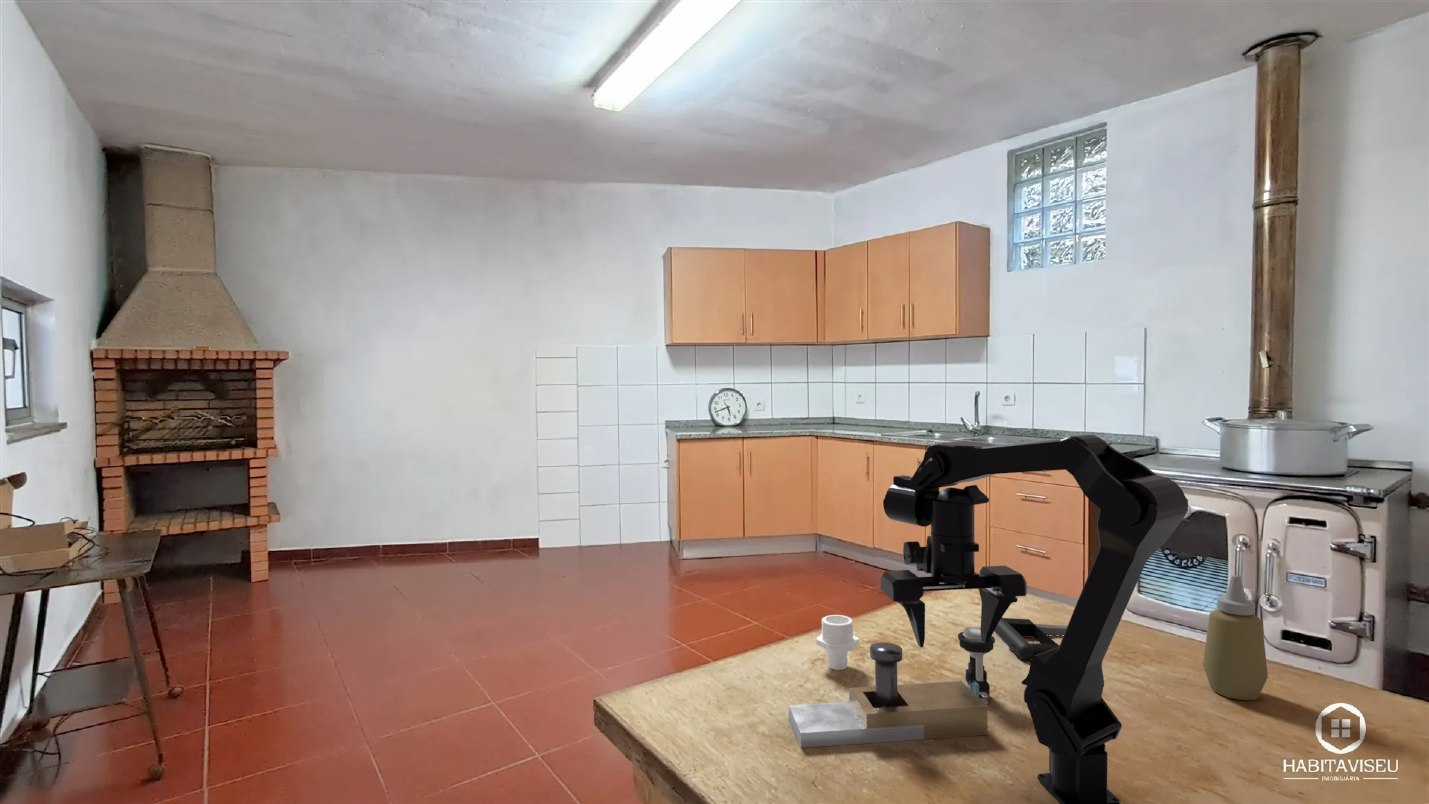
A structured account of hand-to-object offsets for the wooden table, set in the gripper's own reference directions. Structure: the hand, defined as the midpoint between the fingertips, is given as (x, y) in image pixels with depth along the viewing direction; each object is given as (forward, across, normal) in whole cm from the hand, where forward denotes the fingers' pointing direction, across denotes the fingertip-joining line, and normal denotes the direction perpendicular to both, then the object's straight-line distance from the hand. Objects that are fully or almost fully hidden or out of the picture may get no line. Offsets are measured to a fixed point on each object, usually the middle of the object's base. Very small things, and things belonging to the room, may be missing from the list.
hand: (952, 644), depth 98 cm
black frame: (+13, -29, -29) cm, 43 cm away
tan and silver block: (+12, +9, -2) cm, 15 cm away
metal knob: (+12, +9, -2) cm, 15 cm away
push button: (+12, -8, -9) cm, 17 cm away
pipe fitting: (+12, +10, -23) cm, 28 cm away
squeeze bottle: (+12, -47, -5) cm, 49 cm away
